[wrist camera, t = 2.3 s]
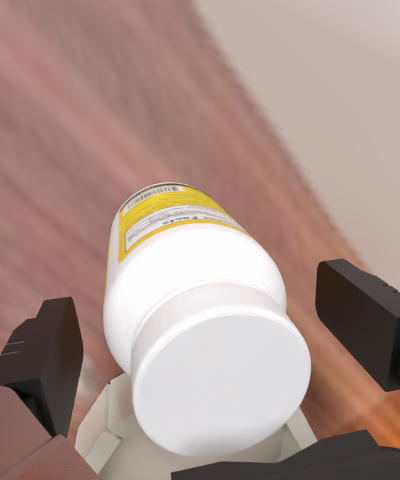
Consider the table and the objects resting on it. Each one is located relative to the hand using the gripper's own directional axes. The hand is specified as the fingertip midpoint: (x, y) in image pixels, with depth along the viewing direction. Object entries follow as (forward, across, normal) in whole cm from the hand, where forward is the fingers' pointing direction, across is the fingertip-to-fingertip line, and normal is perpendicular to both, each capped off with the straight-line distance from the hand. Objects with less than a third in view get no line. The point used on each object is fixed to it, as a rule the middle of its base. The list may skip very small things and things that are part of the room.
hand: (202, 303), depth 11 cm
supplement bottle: (+6, 0, 0) cm, 6 cm away
